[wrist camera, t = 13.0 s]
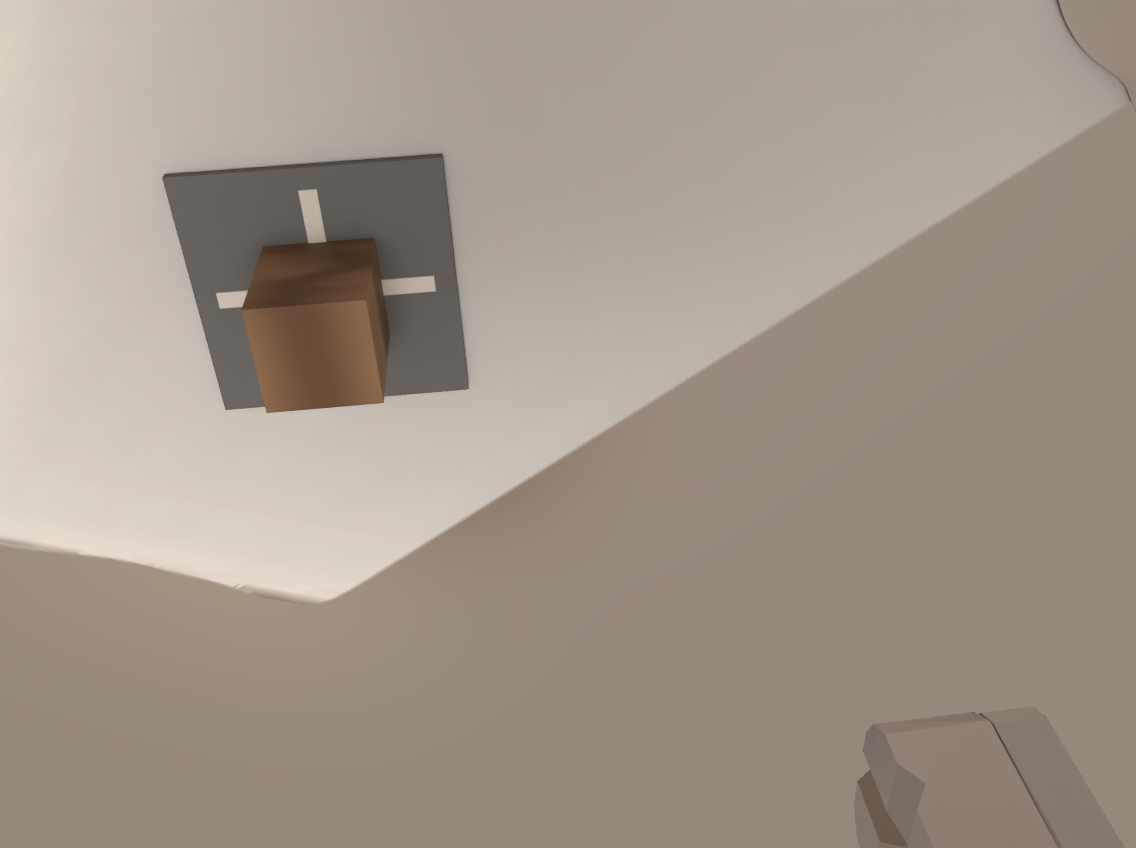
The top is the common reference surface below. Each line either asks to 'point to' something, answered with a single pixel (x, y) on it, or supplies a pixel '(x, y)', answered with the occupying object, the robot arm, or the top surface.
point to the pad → (324, 214)
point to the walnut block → (318, 325)
